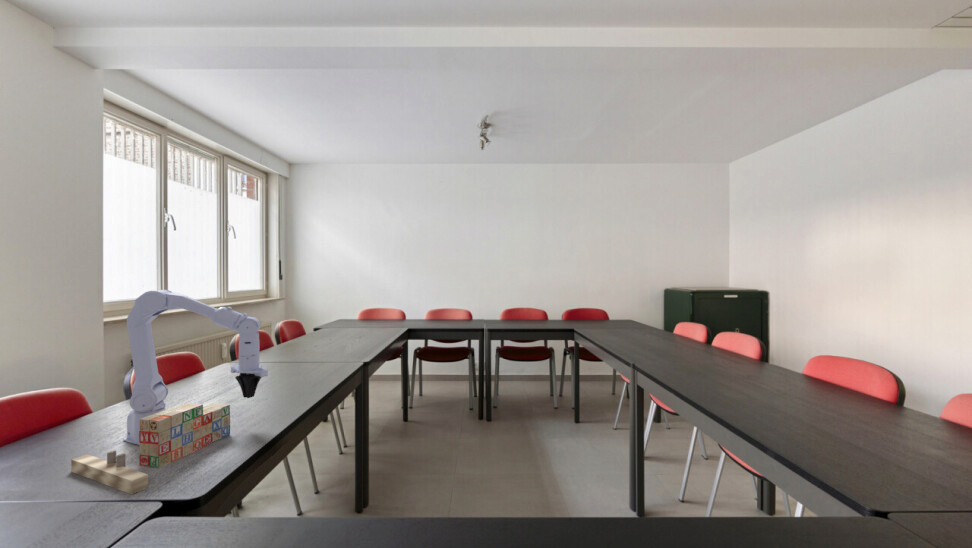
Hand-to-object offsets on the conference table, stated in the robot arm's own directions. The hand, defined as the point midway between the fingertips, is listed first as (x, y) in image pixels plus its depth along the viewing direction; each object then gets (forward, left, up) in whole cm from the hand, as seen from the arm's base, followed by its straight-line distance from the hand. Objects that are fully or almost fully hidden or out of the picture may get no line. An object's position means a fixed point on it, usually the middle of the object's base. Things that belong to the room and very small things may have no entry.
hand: (248, 396), depth 125 cm
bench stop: (0, -35, -9) cm, 37 cm away
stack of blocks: (0, -18, -10) cm, 20 cm away
